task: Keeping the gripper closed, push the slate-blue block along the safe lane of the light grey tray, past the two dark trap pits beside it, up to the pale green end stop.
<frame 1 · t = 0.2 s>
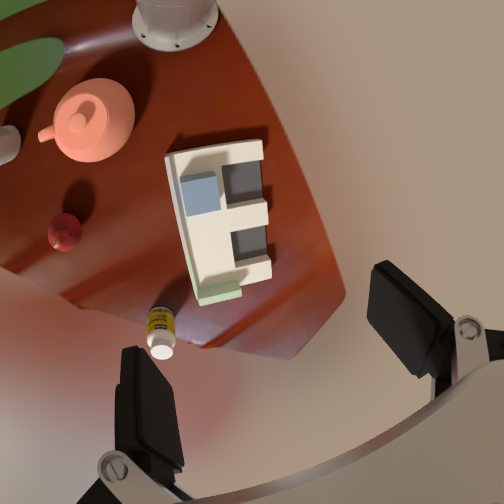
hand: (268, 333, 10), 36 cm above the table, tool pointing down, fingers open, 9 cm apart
block: (198, 189, 40), point 2 cm above the table, touching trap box
sugar bowl: (93, 120, 33), on the table
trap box: (223, 218, 46), on the table
onion: (71, 222, 39), on the table
supplement bottle: (160, 315, 52), on the table
energy drink can: (10, 142, 28), on the table
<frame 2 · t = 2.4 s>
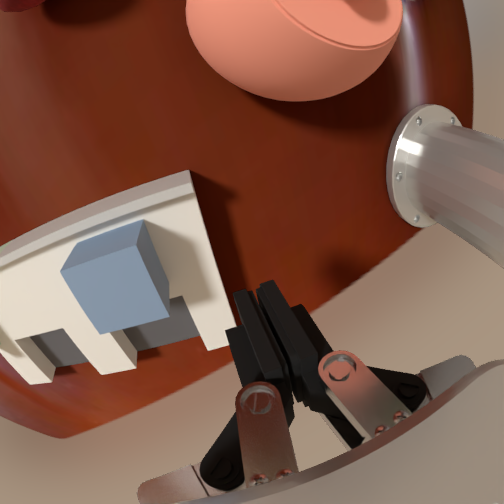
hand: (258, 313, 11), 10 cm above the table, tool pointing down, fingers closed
block: (122, 263, 17), point 2 cm above the table, touching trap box
sugar bowl: (273, 14, 14), on the table
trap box: (79, 300, 20), on the table
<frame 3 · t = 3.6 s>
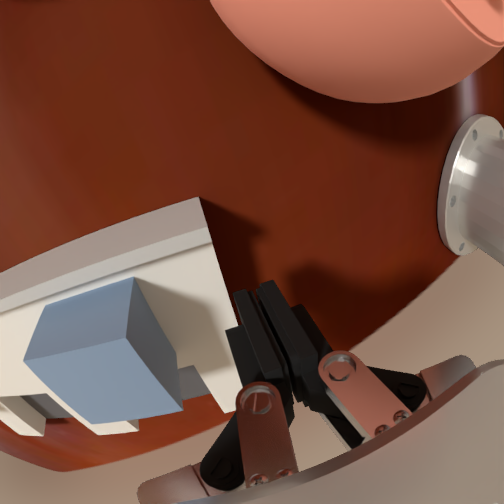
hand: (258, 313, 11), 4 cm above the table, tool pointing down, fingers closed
block: (110, 332, 12), point 2 cm above the table, touching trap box
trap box: (62, 358, 15), on the table
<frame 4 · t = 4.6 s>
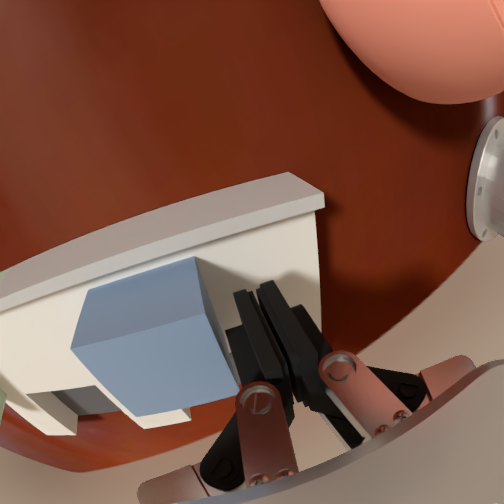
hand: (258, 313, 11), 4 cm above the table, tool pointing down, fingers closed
block: (159, 317, 12), point 3 cm above the table, touching gripper, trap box
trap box: (113, 346, 15), on the table
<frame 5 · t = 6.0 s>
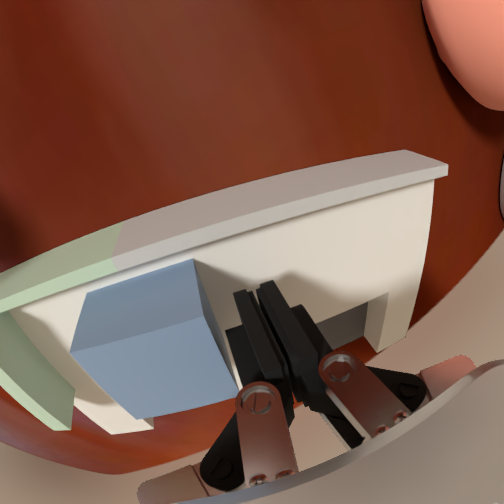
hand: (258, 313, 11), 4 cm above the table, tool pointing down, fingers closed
block: (158, 319, 12), point 2 cm above the table, touching gripper, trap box
sugar bowl: (451, 21, 10), on the table
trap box: (231, 313, 16), on the table
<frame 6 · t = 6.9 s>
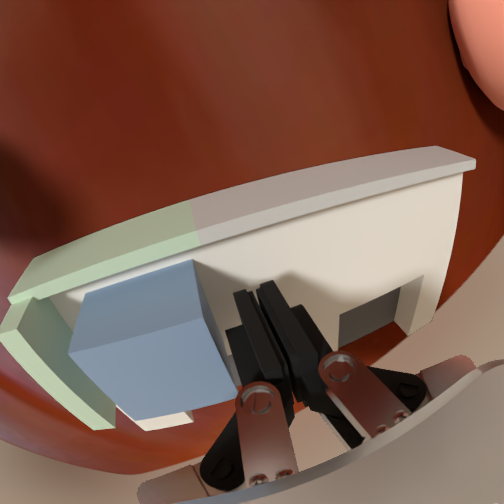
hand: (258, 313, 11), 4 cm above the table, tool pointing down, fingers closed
block: (157, 320, 12), point 2 cm above the table, touching gripper, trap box
sugar bowl: (471, 30, 10), on the table
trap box: (282, 297, 17), on the table
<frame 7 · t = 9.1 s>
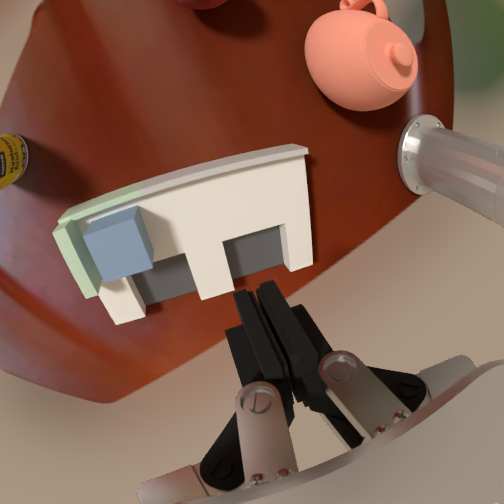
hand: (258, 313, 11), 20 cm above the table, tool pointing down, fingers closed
block: (122, 236, 25), point 2 cm above the table, touching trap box
sugar bowl: (340, 55, 25), on the table
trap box: (194, 234, 30), on the table
supplement bottle: (12, 156, 19), on the table
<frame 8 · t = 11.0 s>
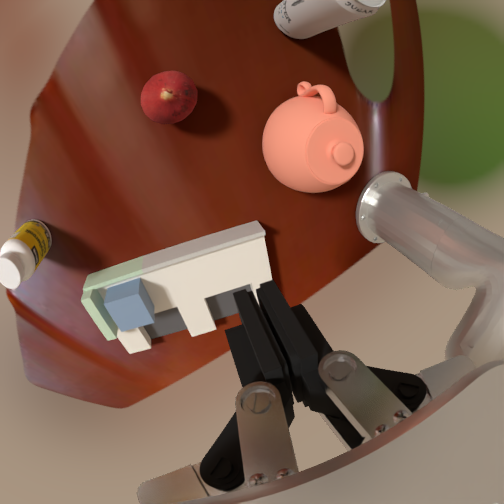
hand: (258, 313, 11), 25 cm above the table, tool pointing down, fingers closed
block: (131, 297, 35), point 2 cm above the table, touching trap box
sugar bowl: (300, 134, 33), on the table
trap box: (184, 290, 39), on the table
onion: (169, 99, 27), on the table
supplement bottle: (37, 235, 29), on the table
energy drink can: (293, 21, 25), on the table
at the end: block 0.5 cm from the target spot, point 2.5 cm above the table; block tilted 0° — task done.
